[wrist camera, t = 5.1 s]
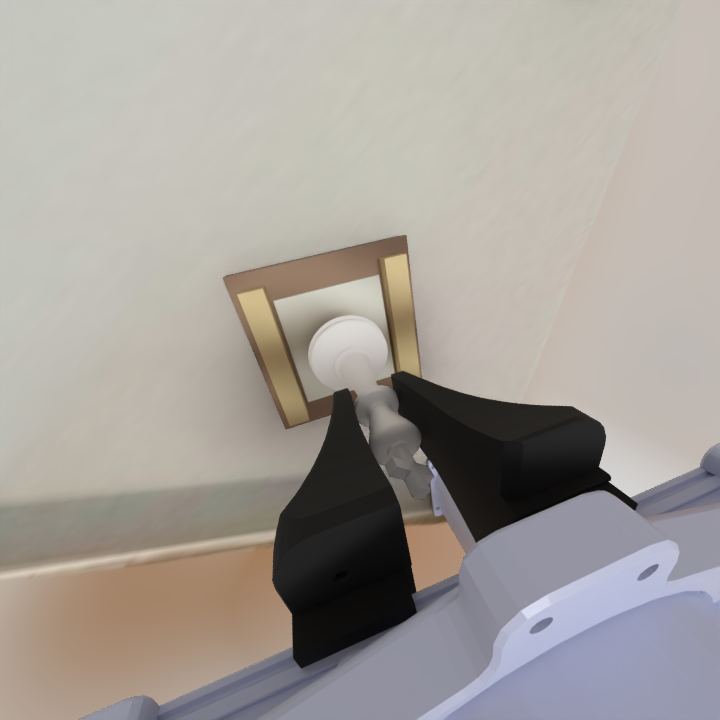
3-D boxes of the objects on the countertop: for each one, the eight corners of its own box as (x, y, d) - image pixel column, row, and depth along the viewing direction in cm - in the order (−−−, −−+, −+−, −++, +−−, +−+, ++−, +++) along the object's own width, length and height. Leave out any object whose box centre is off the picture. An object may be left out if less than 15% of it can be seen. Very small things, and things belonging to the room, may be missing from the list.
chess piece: (359, 396, 18) (429, 549, 10) (293, 370, 16) (309, 538, 8) (399, 336, 17) (522, 453, 8) (334, 299, 15) (409, 406, 6)
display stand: (416, 379, 24) (429, 392, 22) (285, 420, 22) (285, 439, 20) (399, 235, 19) (414, 234, 17) (226, 275, 17) (218, 280, 15)
